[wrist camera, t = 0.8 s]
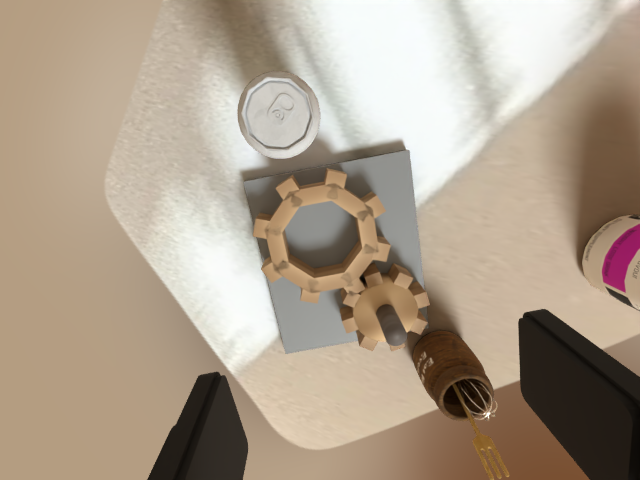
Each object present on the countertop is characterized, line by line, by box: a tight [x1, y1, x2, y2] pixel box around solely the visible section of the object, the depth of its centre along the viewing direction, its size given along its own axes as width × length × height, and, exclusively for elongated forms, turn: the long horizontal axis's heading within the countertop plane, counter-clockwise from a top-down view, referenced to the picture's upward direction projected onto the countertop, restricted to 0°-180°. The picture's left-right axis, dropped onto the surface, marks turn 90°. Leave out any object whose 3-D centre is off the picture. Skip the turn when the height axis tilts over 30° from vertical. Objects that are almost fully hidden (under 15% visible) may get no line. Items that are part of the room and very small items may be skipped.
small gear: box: [340, 263, 430, 351], centre depth 31 cm, size 8×8×6 cm
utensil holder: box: [413, 331, 509, 480], centre depth 32 cm, size 6×6×12 cm
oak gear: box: [253, 168, 391, 304], centre depth 31 cm, size 12×12×2 cm
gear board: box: [243, 150, 429, 354], centre depth 33 cm, size 18×15×1 cm
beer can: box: [238, 71, 321, 159], centre depth 25 cm, size 5×5×12 cm
